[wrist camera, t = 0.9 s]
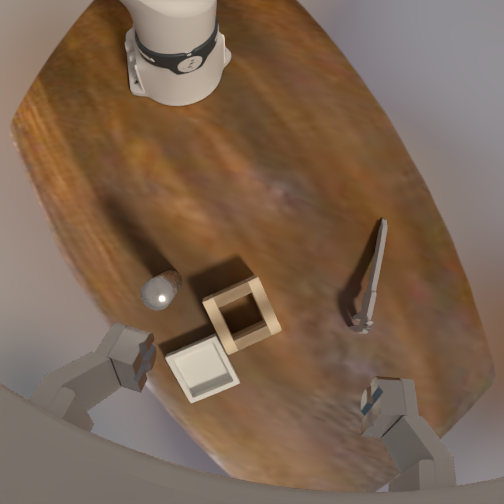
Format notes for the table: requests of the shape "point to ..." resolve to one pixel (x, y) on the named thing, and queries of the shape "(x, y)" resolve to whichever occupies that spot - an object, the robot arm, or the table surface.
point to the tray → (202, 368)
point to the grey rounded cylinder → (161, 290)
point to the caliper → (371, 284)
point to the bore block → (250, 333)
